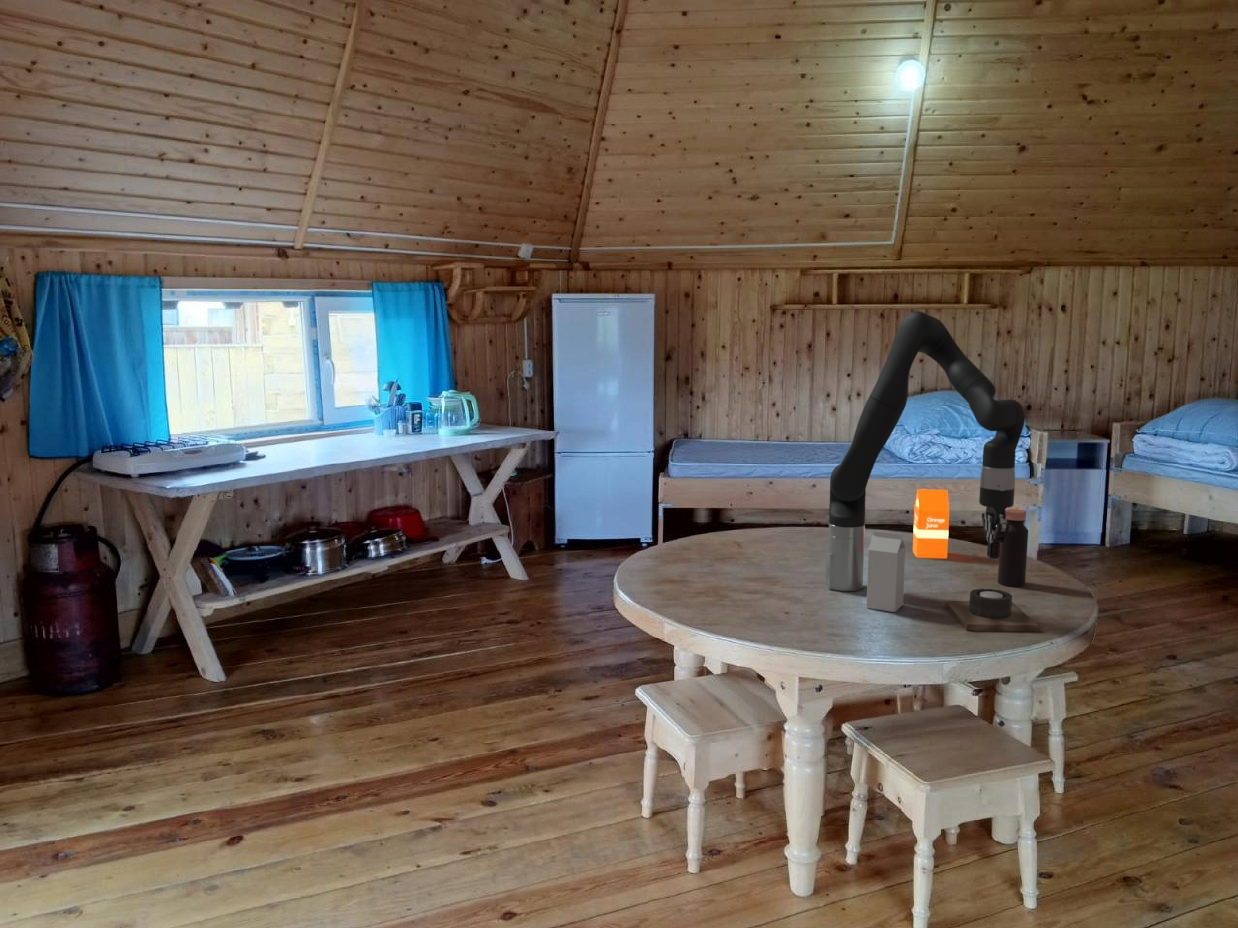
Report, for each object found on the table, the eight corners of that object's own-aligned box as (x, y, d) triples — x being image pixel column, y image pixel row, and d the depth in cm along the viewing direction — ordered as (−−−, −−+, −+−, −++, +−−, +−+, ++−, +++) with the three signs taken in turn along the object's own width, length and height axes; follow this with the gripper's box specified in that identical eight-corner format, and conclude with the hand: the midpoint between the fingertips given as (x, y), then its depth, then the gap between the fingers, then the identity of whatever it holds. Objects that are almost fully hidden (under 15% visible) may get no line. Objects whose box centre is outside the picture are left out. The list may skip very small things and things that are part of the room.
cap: (982, 615, 222) (983, 597, 222) (976, 609, 227) (977, 591, 227) (1004, 615, 222) (1005, 597, 221) (997, 609, 227) (998, 591, 226)
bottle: (993, 579, 257) (998, 508, 254) (1019, 580, 257) (1023, 508, 254) (1003, 587, 250) (1007, 513, 247) (1029, 587, 250) (1033, 513, 247)
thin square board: (966, 630, 217) (967, 605, 216) (945, 606, 234) (946, 583, 233) (1037, 631, 216) (1039, 606, 215) (1011, 607, 233) (1012, 583, 232)
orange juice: (912, 551, 288) (915, 487, 285) (942, 552, 287) (945, 487, 284) (916, 557, 281) (919, 491, 278) (947, 558, 280) (950, 492, 276)
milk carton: (894, 612, 230) (898, 537, 227) (866, 608, 233) (868, 533, 230) (903, 605, 236) (906, 531, 233) (874, 600, 239) (877, 527, 236)
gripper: (972, 480, 227) (968, 550, 230) (989, 490, 214) (985, 564, 216) (1004, 480, 226) (1000, 550, 229) (1024, 490, 213) (1019, 565, 216)
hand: (993, 557), depth 223 cm, fingers closed
